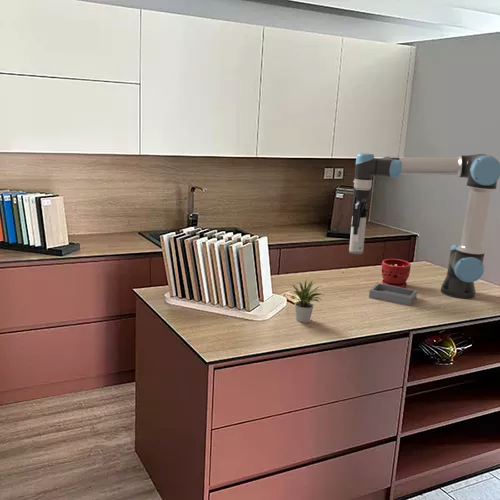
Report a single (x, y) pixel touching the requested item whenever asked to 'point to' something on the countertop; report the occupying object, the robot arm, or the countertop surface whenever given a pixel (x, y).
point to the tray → (393, 294)
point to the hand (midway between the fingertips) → (357, 239)
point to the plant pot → (395, 272)
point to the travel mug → (358, 246)
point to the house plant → (305, 302)
